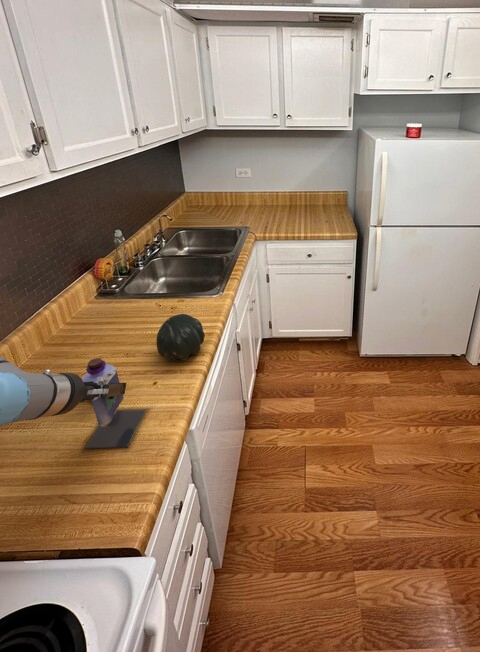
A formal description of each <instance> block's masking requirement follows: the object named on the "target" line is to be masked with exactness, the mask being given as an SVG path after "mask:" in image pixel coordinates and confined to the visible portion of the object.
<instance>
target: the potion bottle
mask: <svg viewBox="0 0 480 652" xmlns="http://www.w3.org/2000/svg"><path fill="white" fill-rule="evenodd" d="M85 370H86V373H85V374H83V377H82V378H81V379H82V381H83V382H91V381H94V383H97V384H98V380H99V379H98V380H96V379H97V378H98V377H100V378H101V377H104V376H105V375H106V374H107V373H108V372H109V371H111V370H116V371H117V367H116V366H113V365H112V364H109V363H108V364H106V361H105V360H103V359H102V358H101V357H95V358H91V359H90V360H89V361H88V363H87V366H86V369H85ZM96 381H97V382H96Z"/></svg>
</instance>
